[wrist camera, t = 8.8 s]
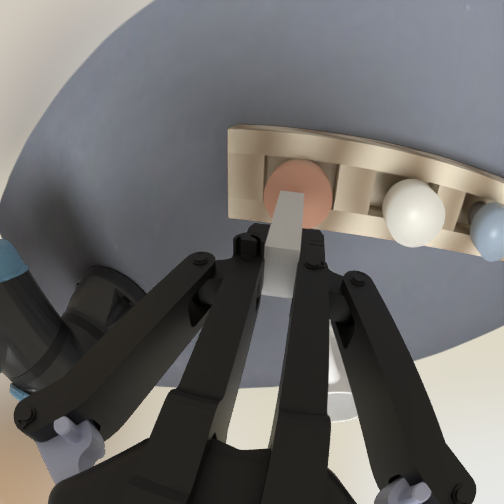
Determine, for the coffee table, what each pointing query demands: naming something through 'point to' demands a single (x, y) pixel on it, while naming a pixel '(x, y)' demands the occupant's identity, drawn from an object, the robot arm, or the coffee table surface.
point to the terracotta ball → (301, 189)
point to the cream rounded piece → (413, 212)
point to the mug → (338, 386)
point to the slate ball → (487, 229)
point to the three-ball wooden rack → (355, 179)
